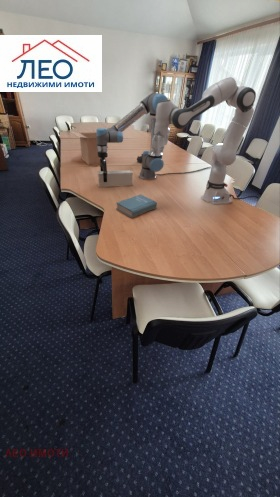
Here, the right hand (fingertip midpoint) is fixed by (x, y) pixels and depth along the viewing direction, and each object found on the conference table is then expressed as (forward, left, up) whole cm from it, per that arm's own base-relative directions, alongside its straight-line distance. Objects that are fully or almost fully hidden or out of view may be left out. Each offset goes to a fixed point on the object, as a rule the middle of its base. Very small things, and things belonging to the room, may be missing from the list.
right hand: (158, 154), depth 146 cm
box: (+51, -97, -33) cm, 114 cm away
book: (+14, +16, -33) cm, 39 cm away
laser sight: (-7, -96, -33) cm, 102 cm away
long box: (+29, -29, -33) cm, 52 cm away
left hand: (+38, -28, -27) cm, 54 cm away
